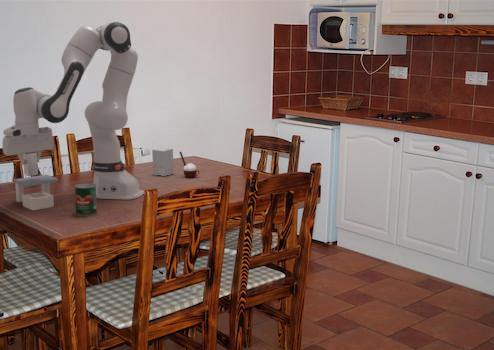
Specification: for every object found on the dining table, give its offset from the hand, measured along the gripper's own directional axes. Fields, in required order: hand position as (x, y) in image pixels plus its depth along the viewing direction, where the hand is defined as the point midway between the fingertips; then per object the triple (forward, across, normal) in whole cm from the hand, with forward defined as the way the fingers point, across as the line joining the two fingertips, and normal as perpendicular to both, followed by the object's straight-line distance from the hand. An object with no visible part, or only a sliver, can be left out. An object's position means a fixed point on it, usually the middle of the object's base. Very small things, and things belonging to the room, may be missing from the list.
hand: (30, 163), depth 265 cm
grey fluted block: (+18, -70, -8) cm, 73 cm away
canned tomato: (+16, -7, +29) cm, 34 cm away
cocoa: (+18, -77, +4) cm, 79 cm away
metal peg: (+5, 0, 0) cm, 5 cm away
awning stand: (+16, -2, +3) cm, 16 cm away
